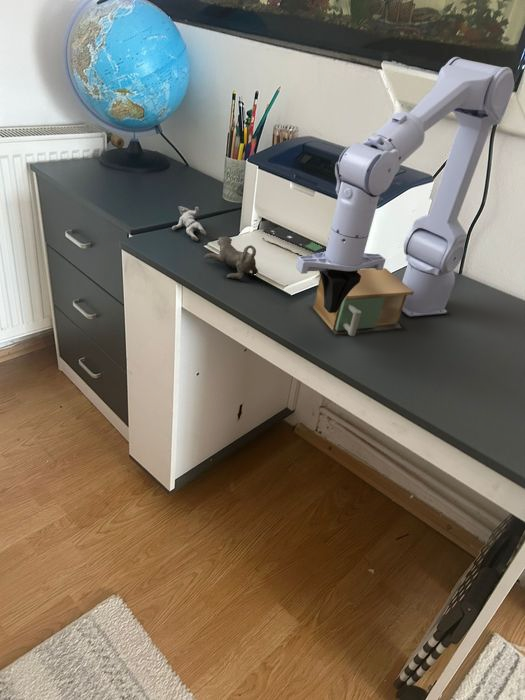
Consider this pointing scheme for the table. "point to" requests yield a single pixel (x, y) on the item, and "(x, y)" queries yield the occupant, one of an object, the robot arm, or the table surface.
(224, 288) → the table surface
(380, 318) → the closet
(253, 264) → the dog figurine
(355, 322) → the closet door
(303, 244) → the disk drive
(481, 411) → the table surface
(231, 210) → the table surface
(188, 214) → the soldier figure
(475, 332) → the table surface
